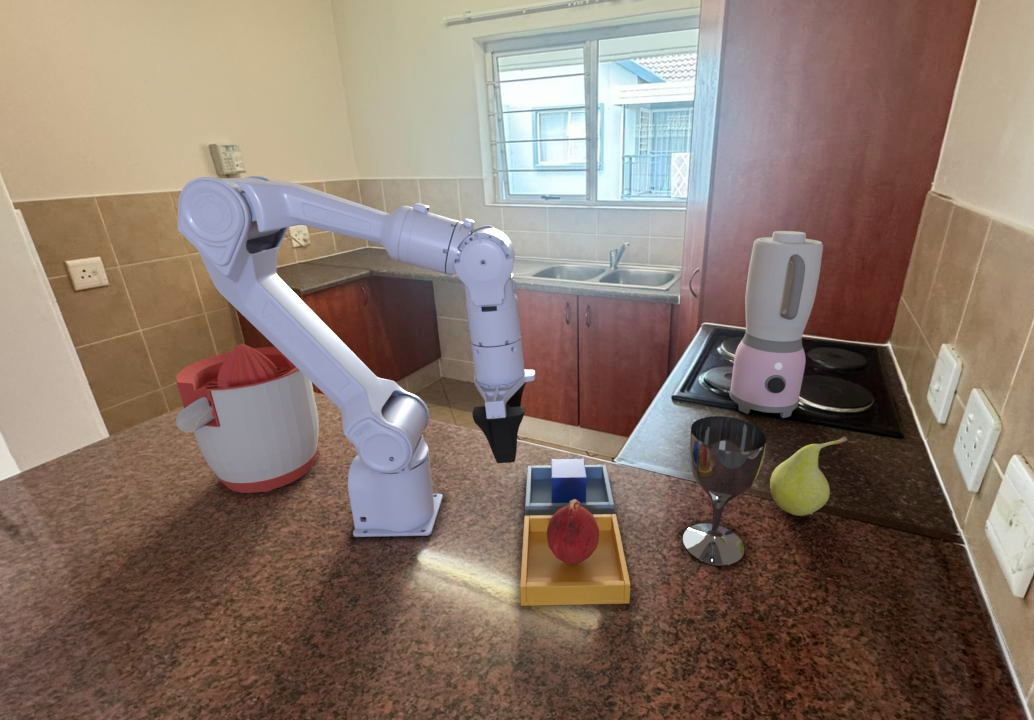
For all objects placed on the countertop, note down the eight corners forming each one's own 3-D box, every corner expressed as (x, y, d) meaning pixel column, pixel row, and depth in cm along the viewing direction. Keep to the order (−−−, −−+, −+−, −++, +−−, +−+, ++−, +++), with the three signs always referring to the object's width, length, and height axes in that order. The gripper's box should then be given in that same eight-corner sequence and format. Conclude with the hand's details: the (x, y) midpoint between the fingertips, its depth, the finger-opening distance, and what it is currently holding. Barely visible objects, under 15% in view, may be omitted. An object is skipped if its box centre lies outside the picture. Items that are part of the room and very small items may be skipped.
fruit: (770, 488, 70) (784, 411, 66) (830, 505, 67) (848, 425, 62) (762, 514, 65) (776, 433, 61) (826, 534, 61) (846, 449, 57)
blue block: (551, 507, 65) (551, 478, 64) (551, 486, 70) (551, 458, 68) (585, 506, 66) (586, 477, 64) (583, 486, 70) (584, 458, 68)
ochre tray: (520, 606, 51) (519, 587, 50) (524, 532, 62) (524, 515, 61) (629, 603, 51) (630, 584, 51) (615, 530, 62) (616, 513, 61)
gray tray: (525, 522, 63) (525, 506, 62) (527, 480, 72) (527, 465, 71) (613, 521, 64) (614, 504, 63) (605, 479, 72) (606, 464, 71)
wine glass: (748, 529, 62) (765, 422, 57) (748, 575, 55) (768, 457, 50) (682, 516, 65) (693, 411, 59) (675, 558, 57) (687, 444, 52)
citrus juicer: (169, 496, 68) (123, 359, 61) (278, 437, 84) (252, 322, 76) (249, 524, 63) (210, 378, 56) (351, 456, 78) (330, 334, 71)
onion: (594, 584, 53) (596, 523, 50) (541, 576, 54) (540, 515, 51) (601, 546, 59) (603, 489, 56) (553, 539, 60) (552, 483, 57)
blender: (724, 388, 102) (745, 228, 91) (787, 393, 100) (816, 229, 89) (737, 425, 88) (763, 238, 76) (810, 430, 86) (849, 240, 74)
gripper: (529, 359, 49) (540, 475, 54) (533, 318, 63) (541, 414, 68) (458, 364, 49) (475, 480, 54) (477, 322, 63) (489, 418, 68)
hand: (508, 444), depth 61 cm, fingers open, 7 cm apart
